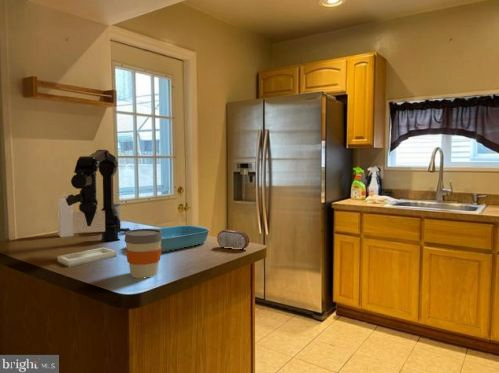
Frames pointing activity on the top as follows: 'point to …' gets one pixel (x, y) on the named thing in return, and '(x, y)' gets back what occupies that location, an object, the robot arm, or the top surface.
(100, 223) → the white rectangular block
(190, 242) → the casserole dish
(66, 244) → the top surface
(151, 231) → the reusable coffee cup
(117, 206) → the milk frother
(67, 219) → the milk
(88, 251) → the tray
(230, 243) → the portable speaker
